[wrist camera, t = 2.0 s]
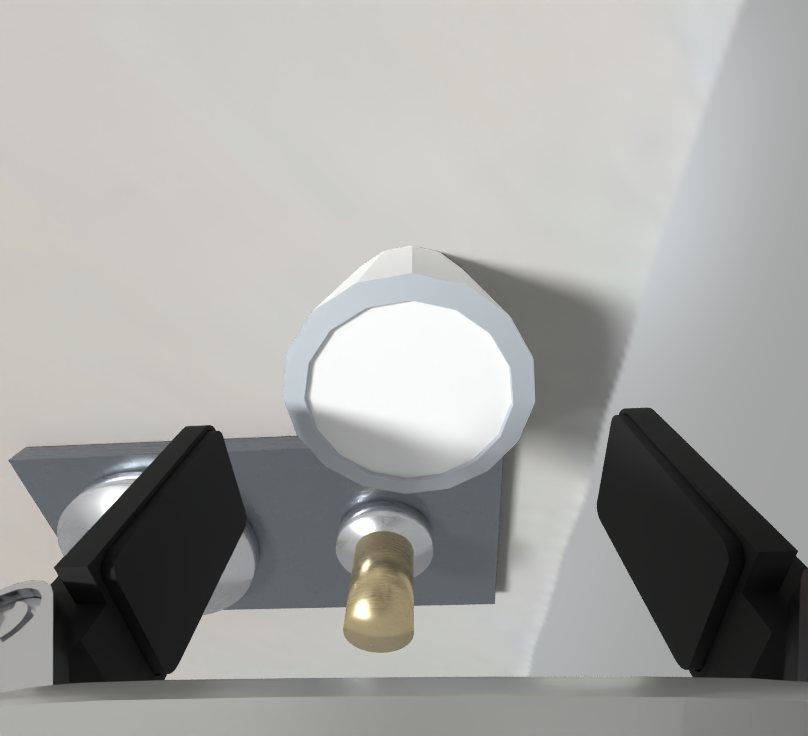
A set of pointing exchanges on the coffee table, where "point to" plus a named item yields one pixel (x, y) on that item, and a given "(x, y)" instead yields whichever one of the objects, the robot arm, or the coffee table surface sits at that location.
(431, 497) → the flange plate
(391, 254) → the shot glass
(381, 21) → the coffee table surface
